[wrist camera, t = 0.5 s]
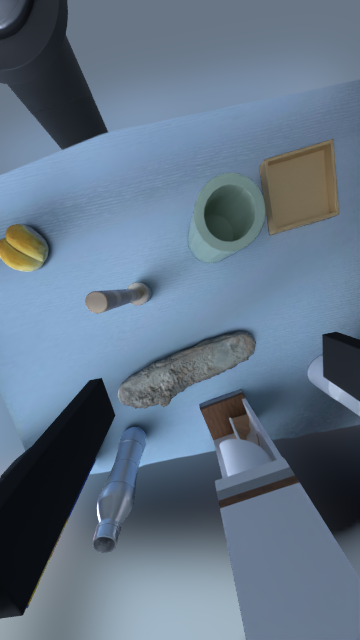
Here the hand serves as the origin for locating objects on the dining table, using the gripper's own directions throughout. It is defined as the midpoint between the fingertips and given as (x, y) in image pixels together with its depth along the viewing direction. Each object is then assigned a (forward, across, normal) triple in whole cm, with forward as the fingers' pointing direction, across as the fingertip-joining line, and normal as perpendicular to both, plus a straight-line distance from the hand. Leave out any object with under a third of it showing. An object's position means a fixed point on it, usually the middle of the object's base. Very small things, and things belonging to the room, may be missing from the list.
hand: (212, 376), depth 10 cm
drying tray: (+31, +26, +18) cm, 45 cm away
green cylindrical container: (+30, +8, +13) cm, 34 cm away
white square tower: (+29, +4, -31) cm, 42 cm away
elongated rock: (+29, -4, -15) cm, 33 cm away
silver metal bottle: (+28, -21, -31) cm, 47 cm away
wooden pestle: (+30, -10, +4) cm, 32 cm away
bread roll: (+30, -31, +18) cm, 47 cm away
